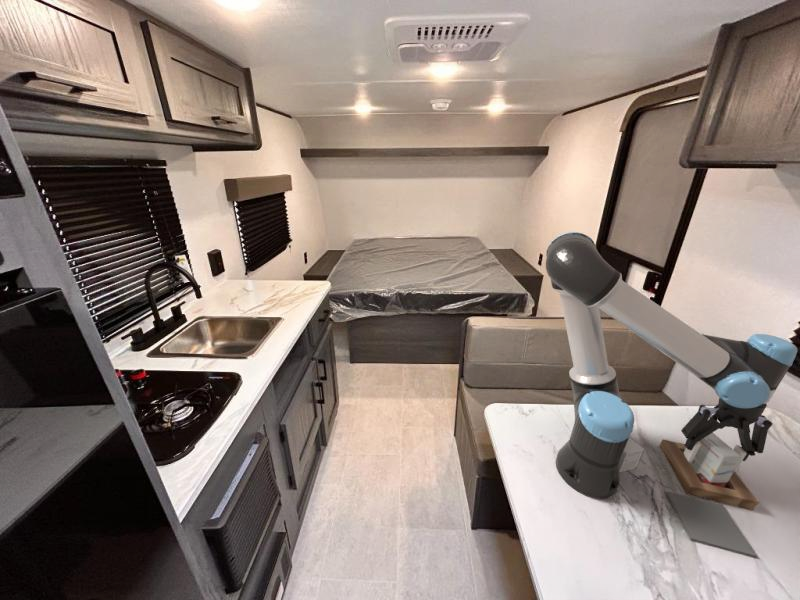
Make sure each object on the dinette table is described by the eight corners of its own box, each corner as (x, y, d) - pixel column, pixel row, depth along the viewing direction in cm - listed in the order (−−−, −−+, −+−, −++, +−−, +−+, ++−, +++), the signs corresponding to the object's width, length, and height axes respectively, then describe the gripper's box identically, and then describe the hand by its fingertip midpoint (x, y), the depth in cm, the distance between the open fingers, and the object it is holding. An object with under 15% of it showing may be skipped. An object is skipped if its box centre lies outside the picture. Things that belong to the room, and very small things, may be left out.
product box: (618, 473, 88) (626, 453, 85) (600, 455, 93) (607, 436, 90) (635, 468, 89) (644, 449, 86) (617, 451, 95) (624, 432, 92)
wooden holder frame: (686, 494, 82) (690, 486, 81) (659, 446, 97) (662, 439, 95) (753, 510, 79) (758, 502, 78) (714, 458, 93) (719, 451, 92)
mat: (690, 540, 72) (691, 538, 72) (665, 492, 83) (666, 490, 82) (755, 557, 69) (757, 556, 69) (721, 506, 80) (722, 504, 79)
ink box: (724, 490, 84) (744, 457, 79) (706, 489, 84) (725, 457, 79) (697, 462, 92) (713, 431, 87) (680, 462, 92) (695, 430, 87)
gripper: (700, 395, 77) (668, 463, 85) (816, 415, 71) (769, 485, 80) (684, 377, 83) (656, 442, 92) (789, 394, 78) (748, 461, 86)
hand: (708, 462), depth 86 cm, fingers open, 9 cm apart
